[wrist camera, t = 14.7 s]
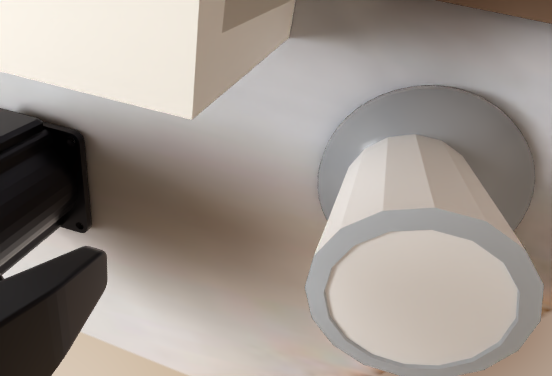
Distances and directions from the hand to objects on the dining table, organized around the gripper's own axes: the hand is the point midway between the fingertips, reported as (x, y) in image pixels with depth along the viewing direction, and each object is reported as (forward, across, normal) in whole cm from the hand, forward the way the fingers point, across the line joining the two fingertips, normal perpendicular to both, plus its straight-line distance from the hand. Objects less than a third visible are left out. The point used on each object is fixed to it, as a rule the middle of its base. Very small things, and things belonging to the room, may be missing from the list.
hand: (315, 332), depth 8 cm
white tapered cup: (+11, -3, +2) cm, 12 cm away
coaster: (+12, -4, +2) cm, 12 cm away
